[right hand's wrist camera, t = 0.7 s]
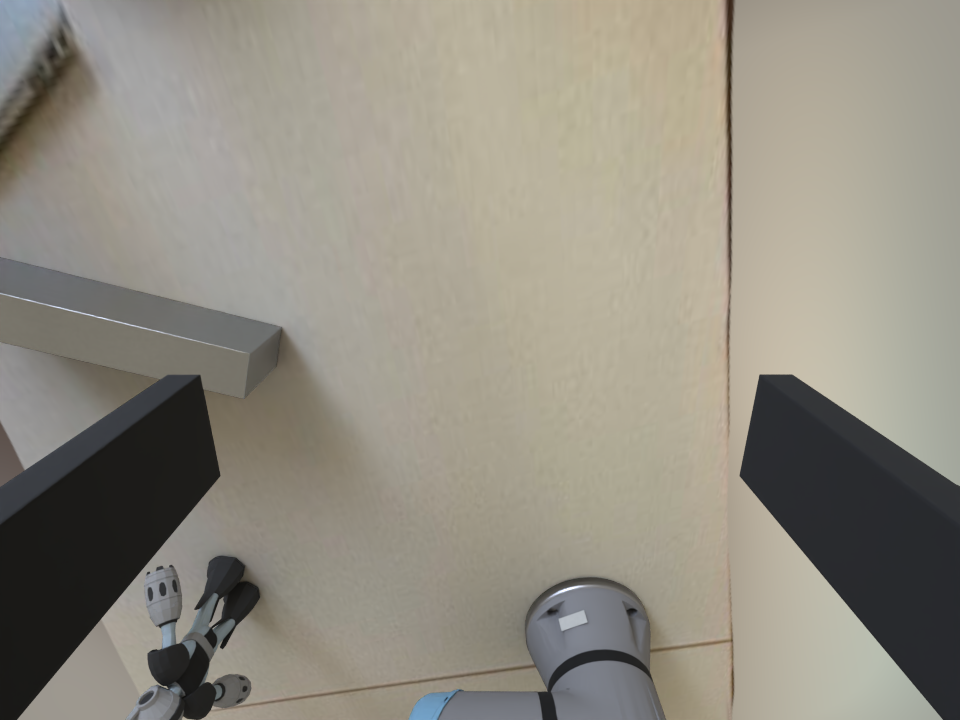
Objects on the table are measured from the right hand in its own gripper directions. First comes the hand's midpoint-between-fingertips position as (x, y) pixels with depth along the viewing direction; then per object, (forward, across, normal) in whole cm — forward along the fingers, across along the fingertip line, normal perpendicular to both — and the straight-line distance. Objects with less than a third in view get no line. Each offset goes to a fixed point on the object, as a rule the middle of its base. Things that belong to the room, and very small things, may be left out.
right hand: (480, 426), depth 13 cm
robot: (+40, +30, +42) cm, 65 cm away
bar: (+39, +34, +8) cm, 52 cm away
